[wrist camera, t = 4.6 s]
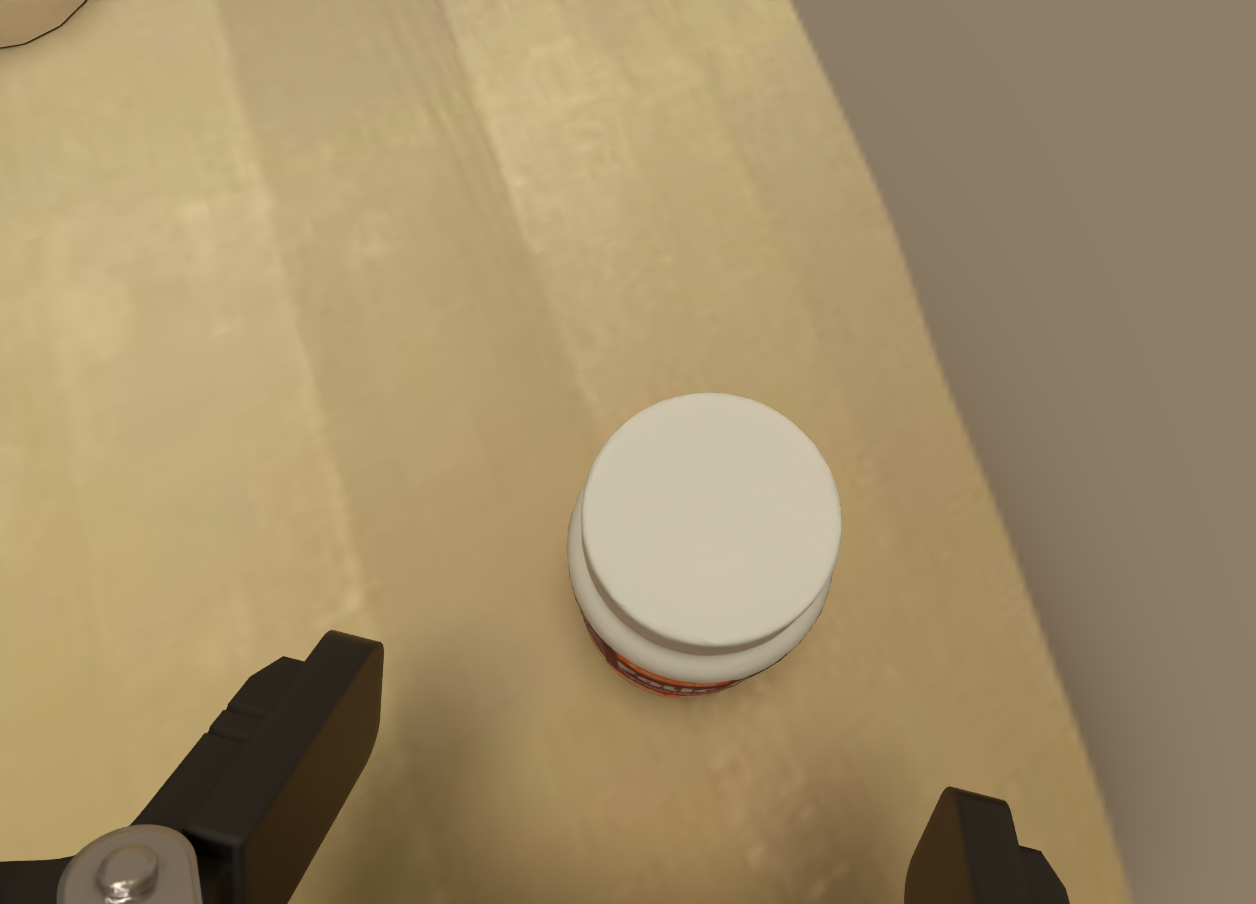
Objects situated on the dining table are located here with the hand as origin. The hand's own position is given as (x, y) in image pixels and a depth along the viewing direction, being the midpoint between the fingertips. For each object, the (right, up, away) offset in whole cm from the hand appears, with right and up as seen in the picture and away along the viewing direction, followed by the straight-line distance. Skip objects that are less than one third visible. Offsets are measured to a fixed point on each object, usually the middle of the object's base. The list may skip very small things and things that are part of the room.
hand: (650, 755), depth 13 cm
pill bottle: (+1, +1, +9) cm, 9 cm away
